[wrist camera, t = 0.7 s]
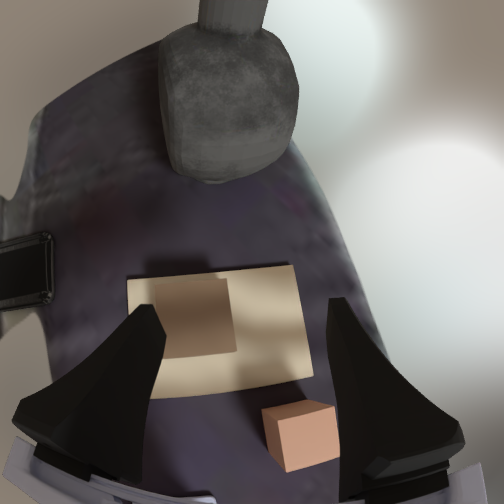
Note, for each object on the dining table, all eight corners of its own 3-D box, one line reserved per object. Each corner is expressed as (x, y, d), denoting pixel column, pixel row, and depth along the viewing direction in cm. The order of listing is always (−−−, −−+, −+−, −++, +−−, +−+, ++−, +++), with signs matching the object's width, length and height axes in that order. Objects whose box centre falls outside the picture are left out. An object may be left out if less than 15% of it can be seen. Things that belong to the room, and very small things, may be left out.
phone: (52, 301, 23) (-40, 316, 19) (57, 304, 24) (-34, 318, 20) (51, 229, 26) (-37, 253, 22) (55, 233, 27) (-32, 256, 23)
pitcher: (178, 226, 29) (182, -137, 2) (156, 105, 35) (160, -105, 7) (277, 206, 32) (413, -76, 4) (233, 96, 38) (276, -99, 10)
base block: (233, 352, 25) (237, 350, 22) (165, 359, 24) (161, 358, 21) (223, 287, 27) (226, 278, 24) (159, 293, 26) (154, 284, 23)
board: (311, 375, 26) (313, 375, 25) (139, 398, 22) (138, 399, 22) (291, 266, 29) (292, 264, 29) (128, 281, 26) (127, 279, 26)
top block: (313, 440, 23) (340, 456, 18) (268, 451, 22) (286, 472, 17) (307, 399, 25) (334, 406, 19) (261, 409, 24) (277, 420, 18)
